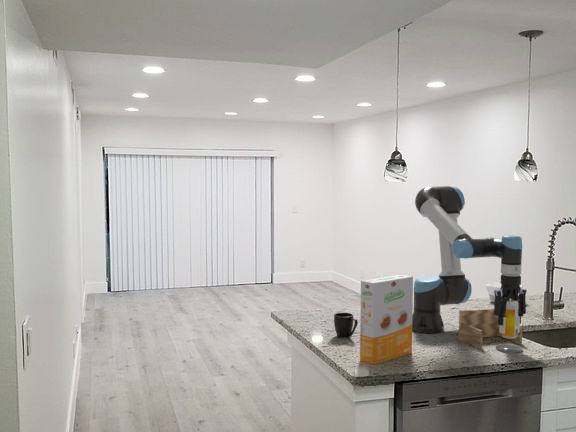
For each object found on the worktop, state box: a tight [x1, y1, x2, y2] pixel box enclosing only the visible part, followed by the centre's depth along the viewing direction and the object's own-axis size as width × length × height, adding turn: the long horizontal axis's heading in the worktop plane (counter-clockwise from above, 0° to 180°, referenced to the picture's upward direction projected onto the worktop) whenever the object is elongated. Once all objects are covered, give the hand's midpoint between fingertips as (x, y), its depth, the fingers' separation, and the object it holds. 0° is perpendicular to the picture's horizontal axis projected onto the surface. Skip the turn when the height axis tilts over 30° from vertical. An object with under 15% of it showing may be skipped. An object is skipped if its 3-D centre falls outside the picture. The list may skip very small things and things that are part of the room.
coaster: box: [495, 344, 523, 354], centre depth 231 cm, size 10×10×1 cm
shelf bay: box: [458, 307, 523, 349], centre depth 243 cm, size 20×14×12 cm
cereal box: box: [359, 274, 414, 365], centre depth 221 cm, size 22×6×30 cm, turn 129°
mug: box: [333, 312, 359, 339], centre depth 248 cm, size 8×12×10 cm
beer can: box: [501, 299, 518, 340], centre depth 231 cm, size 6×6×15 cm
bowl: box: [485, 281, 524, 304], centre depth 321 cm, size 18×18×9 cm
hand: (509, 332), depth 231 cm, fingers closed on beer can, 6 cm apart
